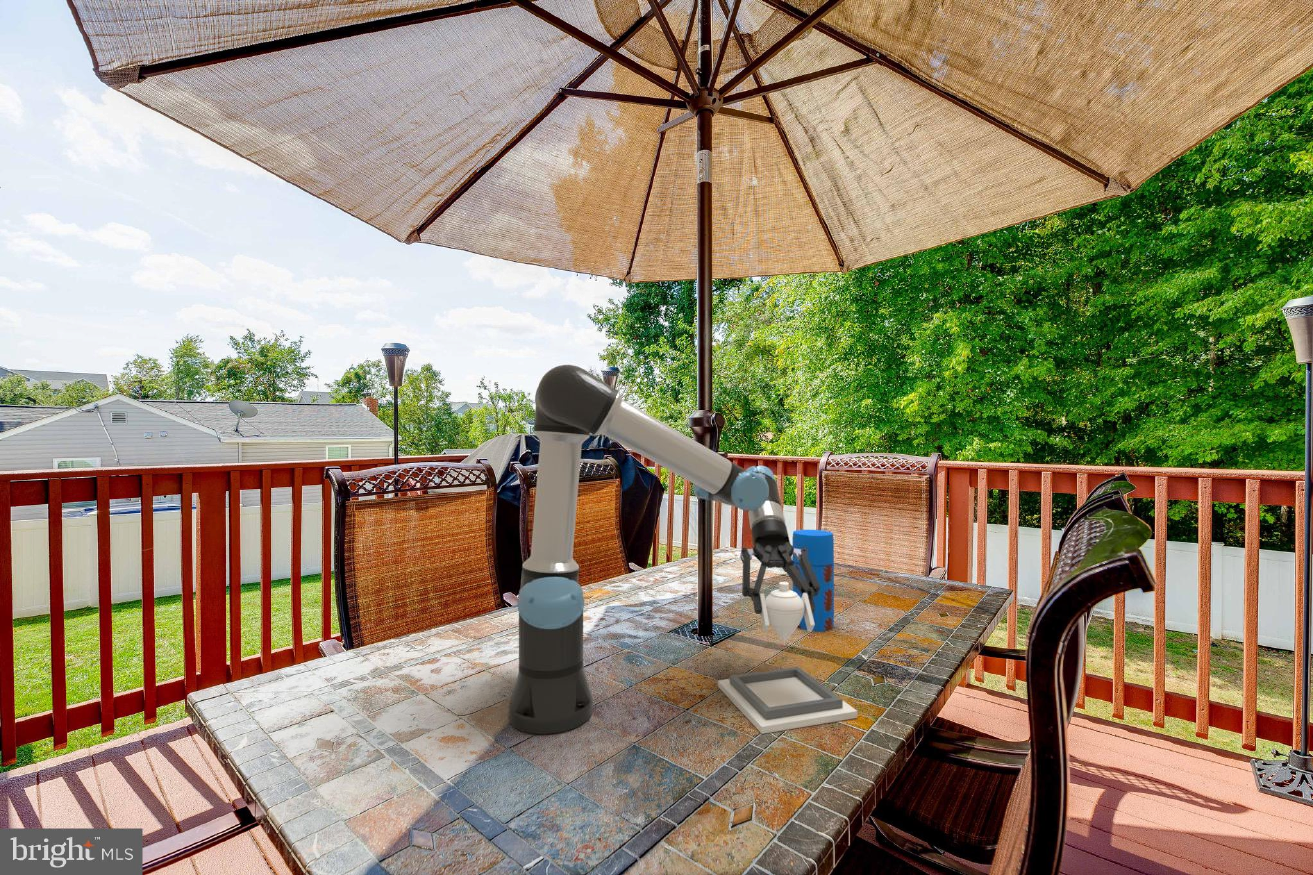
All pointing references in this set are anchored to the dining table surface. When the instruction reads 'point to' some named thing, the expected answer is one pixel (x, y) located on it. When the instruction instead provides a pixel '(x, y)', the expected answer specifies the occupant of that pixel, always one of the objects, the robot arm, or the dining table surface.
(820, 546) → the thermos
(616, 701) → the dining table surface
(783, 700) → the dock plate
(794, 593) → the spinning top
